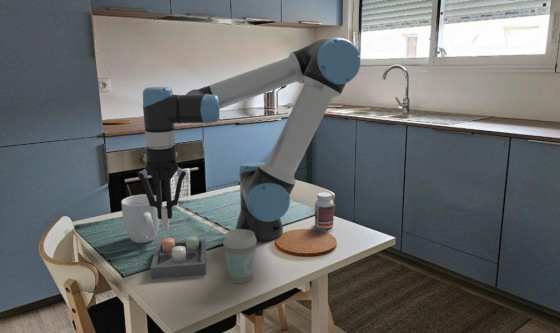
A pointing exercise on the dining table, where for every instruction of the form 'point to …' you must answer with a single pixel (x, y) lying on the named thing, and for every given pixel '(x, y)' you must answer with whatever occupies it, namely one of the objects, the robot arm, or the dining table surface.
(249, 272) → the coffee cup
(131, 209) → the mug
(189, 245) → the button sage
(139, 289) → the dining table surface
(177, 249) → the button ivory
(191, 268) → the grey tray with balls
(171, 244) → the button coral
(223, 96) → the robot arm
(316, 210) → the pill bottle
